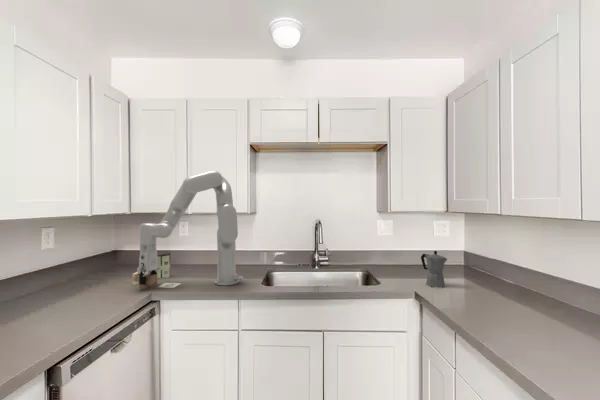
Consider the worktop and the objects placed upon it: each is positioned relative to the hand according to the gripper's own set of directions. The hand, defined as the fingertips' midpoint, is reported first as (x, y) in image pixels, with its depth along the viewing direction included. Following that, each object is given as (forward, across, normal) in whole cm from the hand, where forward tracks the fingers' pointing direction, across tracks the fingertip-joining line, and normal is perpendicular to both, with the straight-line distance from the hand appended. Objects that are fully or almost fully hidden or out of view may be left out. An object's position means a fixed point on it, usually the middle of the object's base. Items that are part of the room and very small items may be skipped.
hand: (148, 282), depth 170 cm
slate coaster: (+3, 0, 0) cm, 3 cm away
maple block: (+3, +8, +9) cm, 13 cm away
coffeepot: (+3, +24, -144) cm, 146 cm away
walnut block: (+3, 0, 0) cm, 3 cm away
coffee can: (+3, +23, +6) cm, 24 cm away
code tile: (+3, +6, -8) cm, 11 cm away
